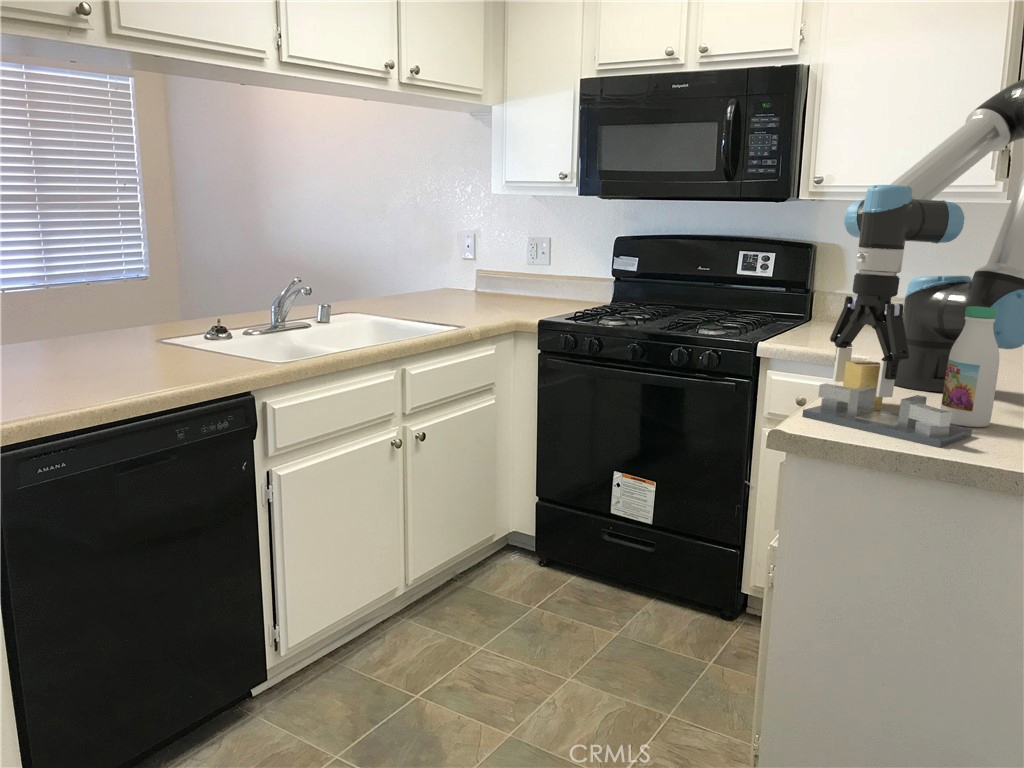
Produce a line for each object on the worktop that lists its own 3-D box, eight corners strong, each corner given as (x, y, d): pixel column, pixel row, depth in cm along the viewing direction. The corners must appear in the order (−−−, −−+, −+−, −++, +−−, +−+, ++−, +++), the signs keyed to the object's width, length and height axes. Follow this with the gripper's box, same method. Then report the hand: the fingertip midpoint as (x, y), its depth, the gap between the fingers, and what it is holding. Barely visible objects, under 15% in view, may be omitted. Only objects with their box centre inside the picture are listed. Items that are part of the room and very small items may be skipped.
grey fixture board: (836, 407, 150) (840, 377, 149) (971, 436, 133) (976, 402, 132) (801, 416, 143) (805, 384, 141) (939, 447, 126) (945, 411, 124)
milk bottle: (973, 417, 146) (990, 305, 142) (999, 429, 139) (1018, 310, 135) (930, 416, 146) (946, 304, 142) (954, 427, 138) (972, 309, 134)
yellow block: (864, 402, 156) (870, 359, 154) (881, 408, 151) (887, 364, 149) (841, 402, 155) (846, 359, 153) (856, 409, 150) (862, 364, 148)
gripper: (820, 267, 159) (806, 375, 163) (903, 277, 135) (885, 403, 139) (855, 269, 161) (840, 375, 165) (943, 279, 137) (924, 404, 141)
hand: (861, 388), depth 152 cm, fingers open, 13 cm apart
